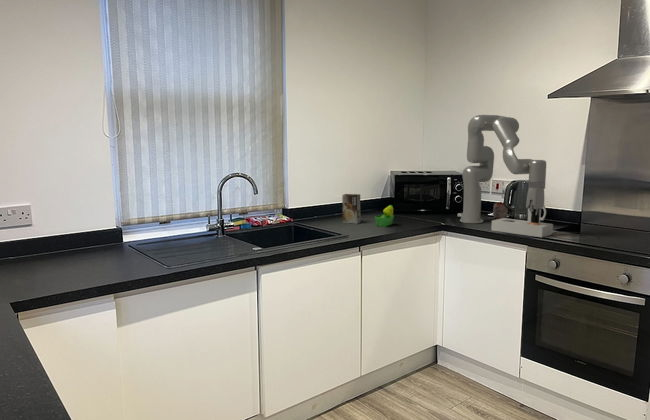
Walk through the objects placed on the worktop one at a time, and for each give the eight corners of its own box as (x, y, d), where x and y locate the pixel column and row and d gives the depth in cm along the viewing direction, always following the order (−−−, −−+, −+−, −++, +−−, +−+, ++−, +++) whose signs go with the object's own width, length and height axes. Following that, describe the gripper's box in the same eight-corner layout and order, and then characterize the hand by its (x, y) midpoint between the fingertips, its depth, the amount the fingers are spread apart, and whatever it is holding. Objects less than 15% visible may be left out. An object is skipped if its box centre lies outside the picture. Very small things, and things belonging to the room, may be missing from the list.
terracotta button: (526, 232, 243) (527, 222, 242) (531, 230, 246) (531, 221, 246) (536, 233, 239) (537, 223, 239) (541, 232, 243) (541, 222, 242)
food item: (508, 220, 283) (509, 203, 282) (494, 220, 284) (494, 203, 283) (504, 216, 296) (505, 200, 295) (490, 216, 298) (491, 200, 296)
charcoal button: (502, 230, 253) (502, 220, 252) (506, 228, 256) (507, 219, 255) (511, 231, 249) (511, 222, 248) (516, 230, 252) (516, 220, 252)
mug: (524, 224, 270) (525, 202, 268) (531, 223, 274) (532, 201, 272) (541, 226, 262) (543, 204, 260) (548, 225, 266) (549, 203, 264)
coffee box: (361, 222, 280) (361, 194, 278) (357, 224, 275) (357, 195, 272) (345, 221, 284) (345, 193, 282) (342, 223, 278) (342, 194, 276)
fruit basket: (381, 223, 277) (381, 203, 275) (396, 224, 273) (396, 204, 271) (373, 226, 267) (374, 205, 266) (389, 227, 263) (389, 206, 261)
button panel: (491, 230, 253) (491, 220, 252) (502, 227, 261) (503, 218, 260) (541, 237, 234) (542, 227, 233) (552, 234, 242) (553, 224, 242)
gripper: (536, 183, 247) (534, 220, 250) (522, 186, 237) (520, 223, 240) (551, 184, 242) (549, 221, 244) (537, 187, 232) (535, 225, 234)
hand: (534, 222), depth 242 cm, fingers closed
